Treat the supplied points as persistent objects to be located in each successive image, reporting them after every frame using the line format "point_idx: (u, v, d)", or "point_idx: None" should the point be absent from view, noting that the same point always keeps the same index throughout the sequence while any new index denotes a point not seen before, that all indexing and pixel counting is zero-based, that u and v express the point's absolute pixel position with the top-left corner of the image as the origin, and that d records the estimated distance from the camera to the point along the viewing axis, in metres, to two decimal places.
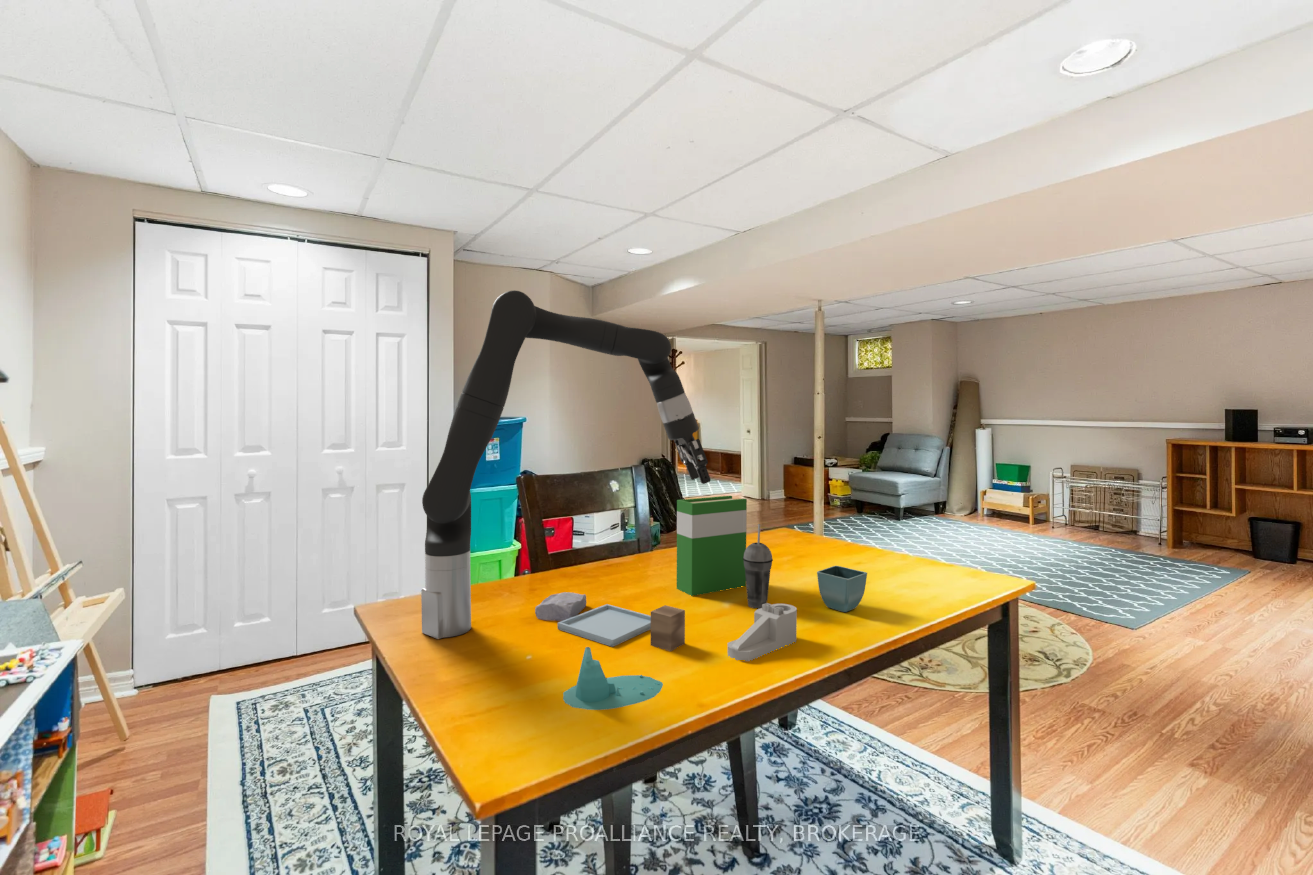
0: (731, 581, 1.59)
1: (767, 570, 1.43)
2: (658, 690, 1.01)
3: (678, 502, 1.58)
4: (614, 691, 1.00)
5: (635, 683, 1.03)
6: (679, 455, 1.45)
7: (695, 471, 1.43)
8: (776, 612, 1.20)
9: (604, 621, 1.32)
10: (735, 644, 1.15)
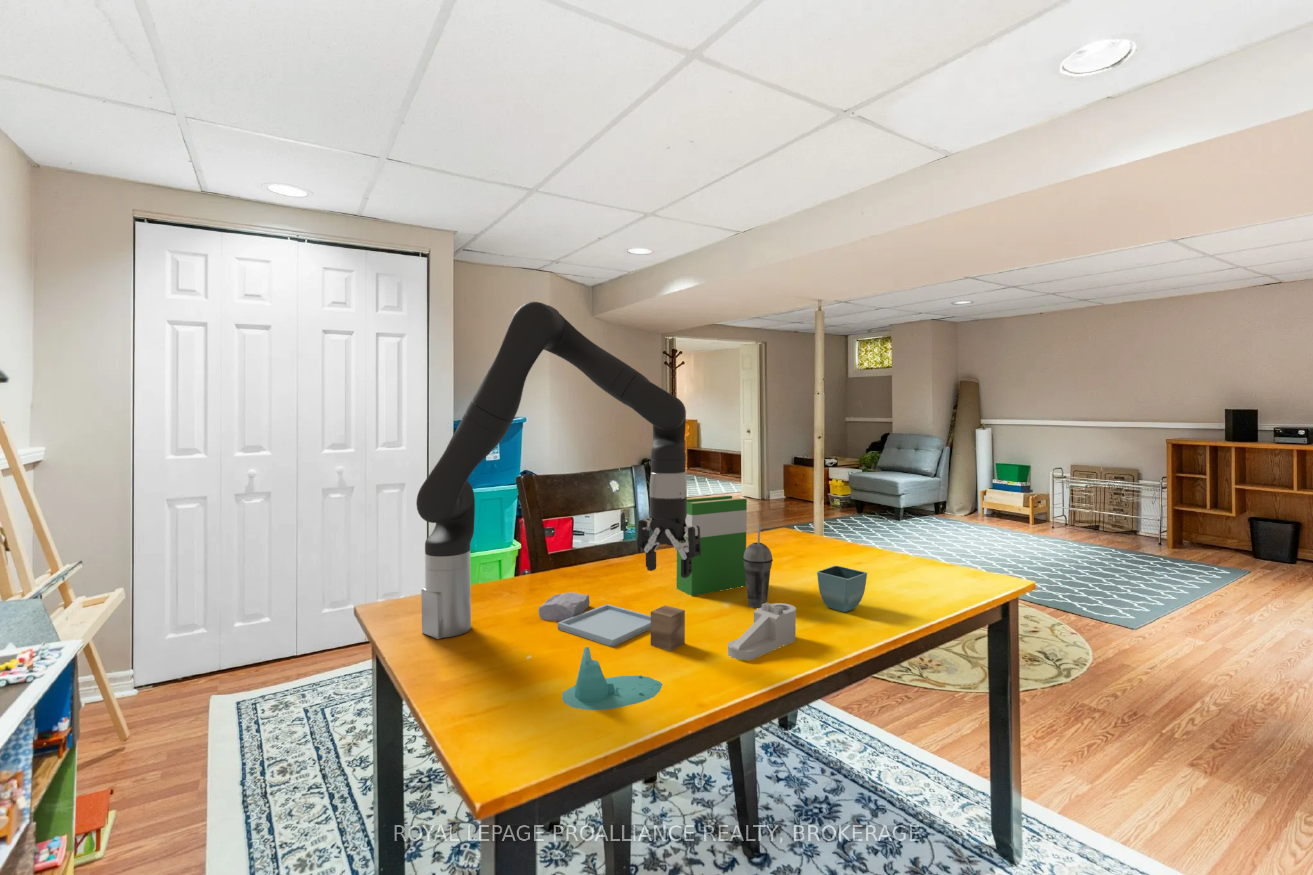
0: (731, 581, 1.59)
1: (767, 570, 1.43)
2: (657, 690, 1.01)
3: None
4: (613, 691, 1.00)
5: (635, 683, 1.03)
6: (638, 539, 1.23)
7: (654, 561, 1.23)
8: (776, 611, 1.20)
9: (604, 621, 1.32)
10: (735, 644, 1.15)
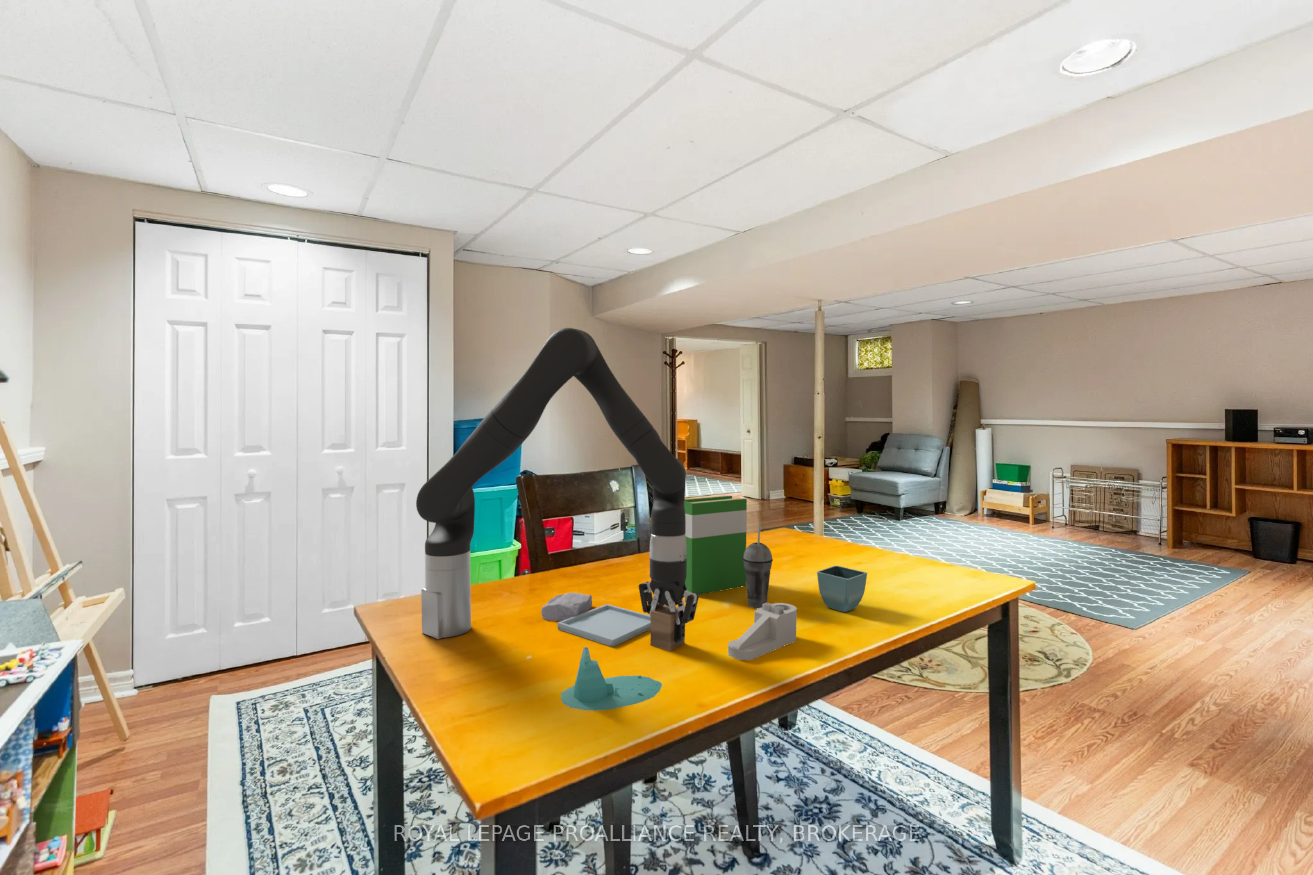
0: (731, 581, 1.59)
1: (767, 570, 1.43)
2: (656, 690, 1.01)
3: None
4: (612, 691, 1.00)
5: (634, 683, 1.03)
6: (642, 604, 1.23)
7: None
8: (777, 611, 1.20)
9: (604, 621, 1.32)
10: (736, 644, 1.15)
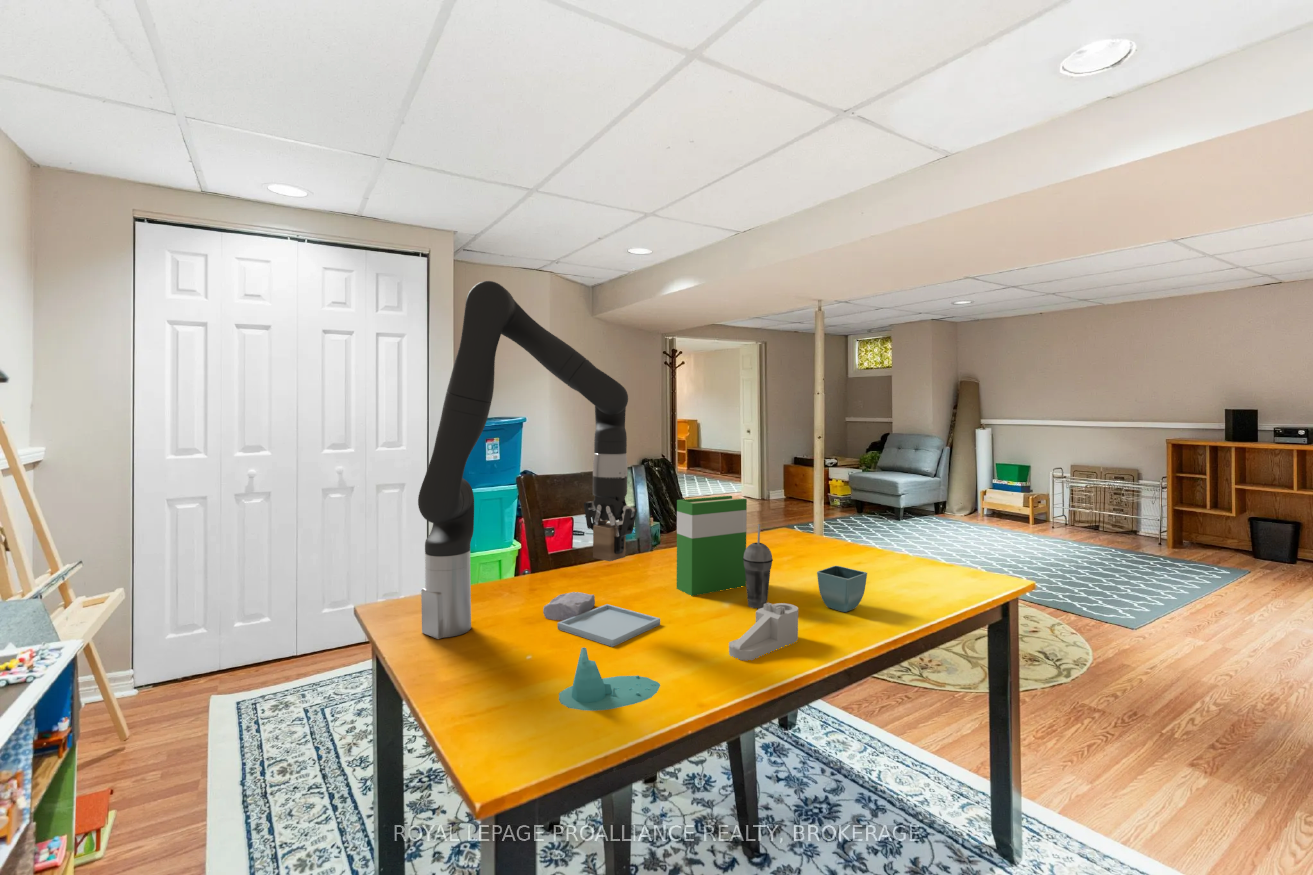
0: (731, 581, 1.59)
1: (767, 570, 1.43)
2: (654, 691, 1.01)
3: (678, 502, 1.58)
4: (610, 692, 0.99)
5: (632, 684, 1.03)
6: (586, 520, 1.32)
7: None
8: (778, 611, 1.20)
9: (604, 621, 1.32)
10: (736, 643, 1.15)
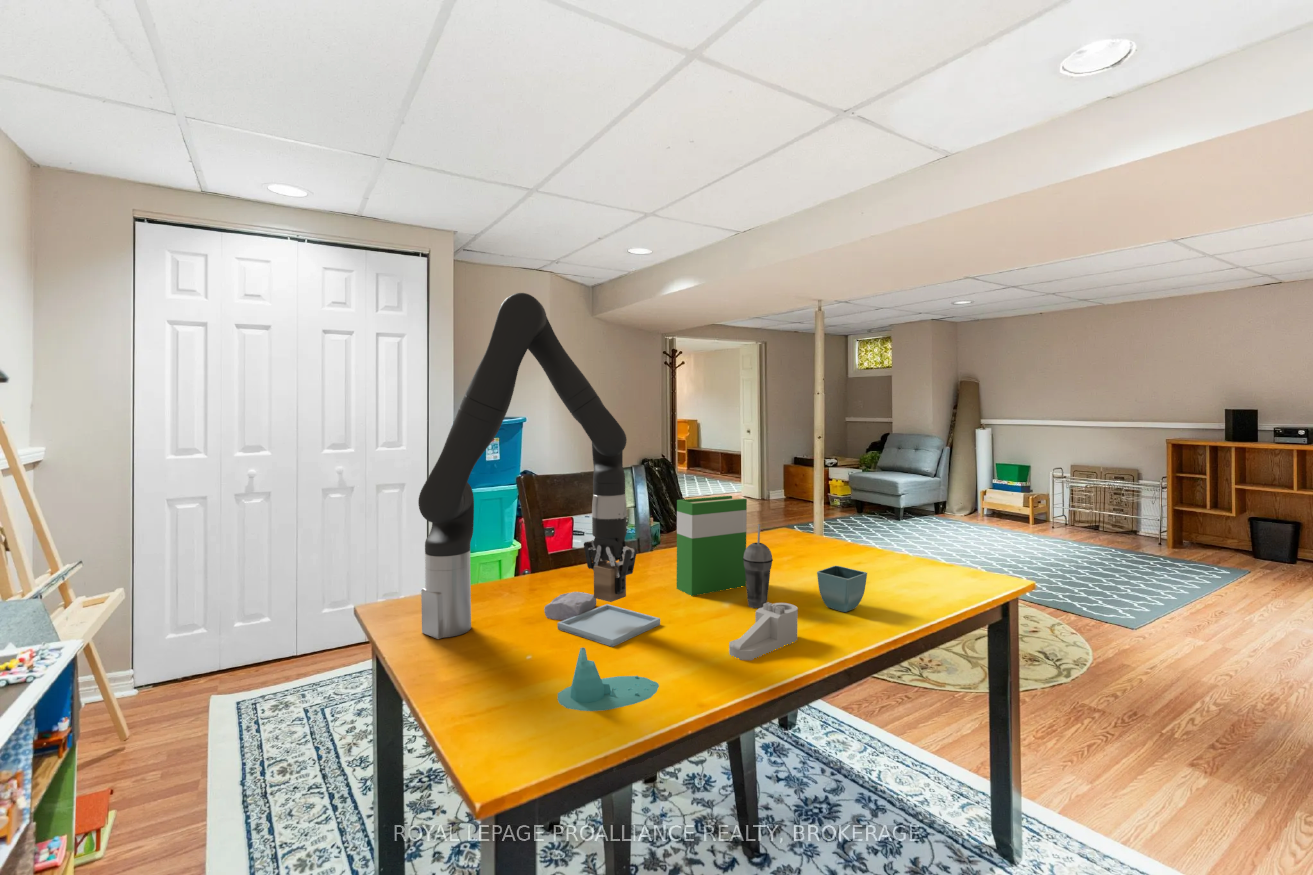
0: (731, 581, 1.59)
1: (767, 570, 1.43)
2: (653, 691, 1.01)
3: (678, 502, 1.58)
4: (609, 692, 0.99)
5: (631, 684, 1.03)
6: (586, 560, 1.33)
7: None
8: (778, 611, 1.20)
9: (604, 621, 1.32)
10: (737, 643, 1.15)
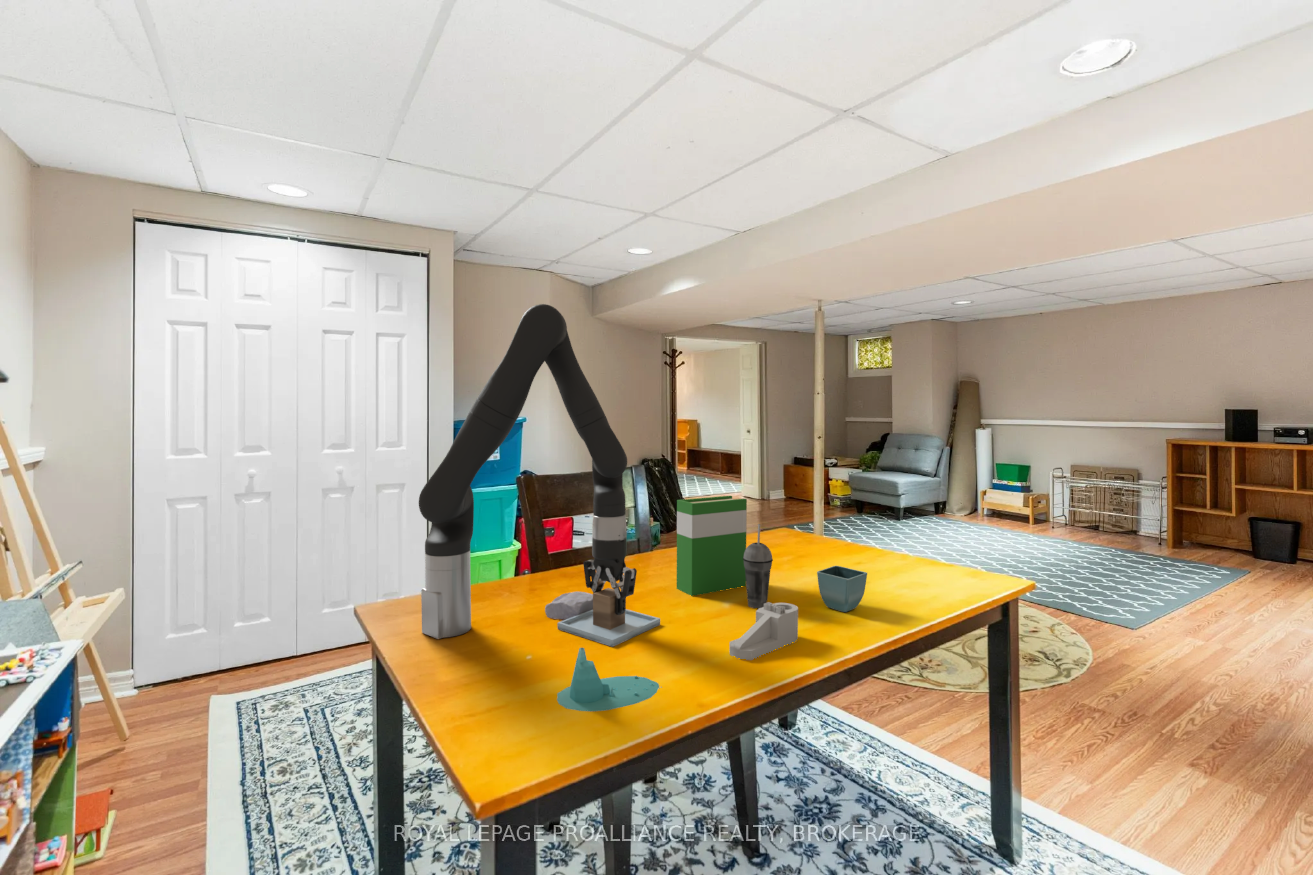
0: (731, 581, 1.59)
1: (767, 570, 1.43)
2: (653, 691, 1.01)
3: (678, 502, 1.58)
4: (608, 692, 0.99)
5: (630, 684, 1.03)
6: (585, 579, 1.33)
7: None
8: (778, 611, 1.20)
9: None
10: (737, 643, 1.15)
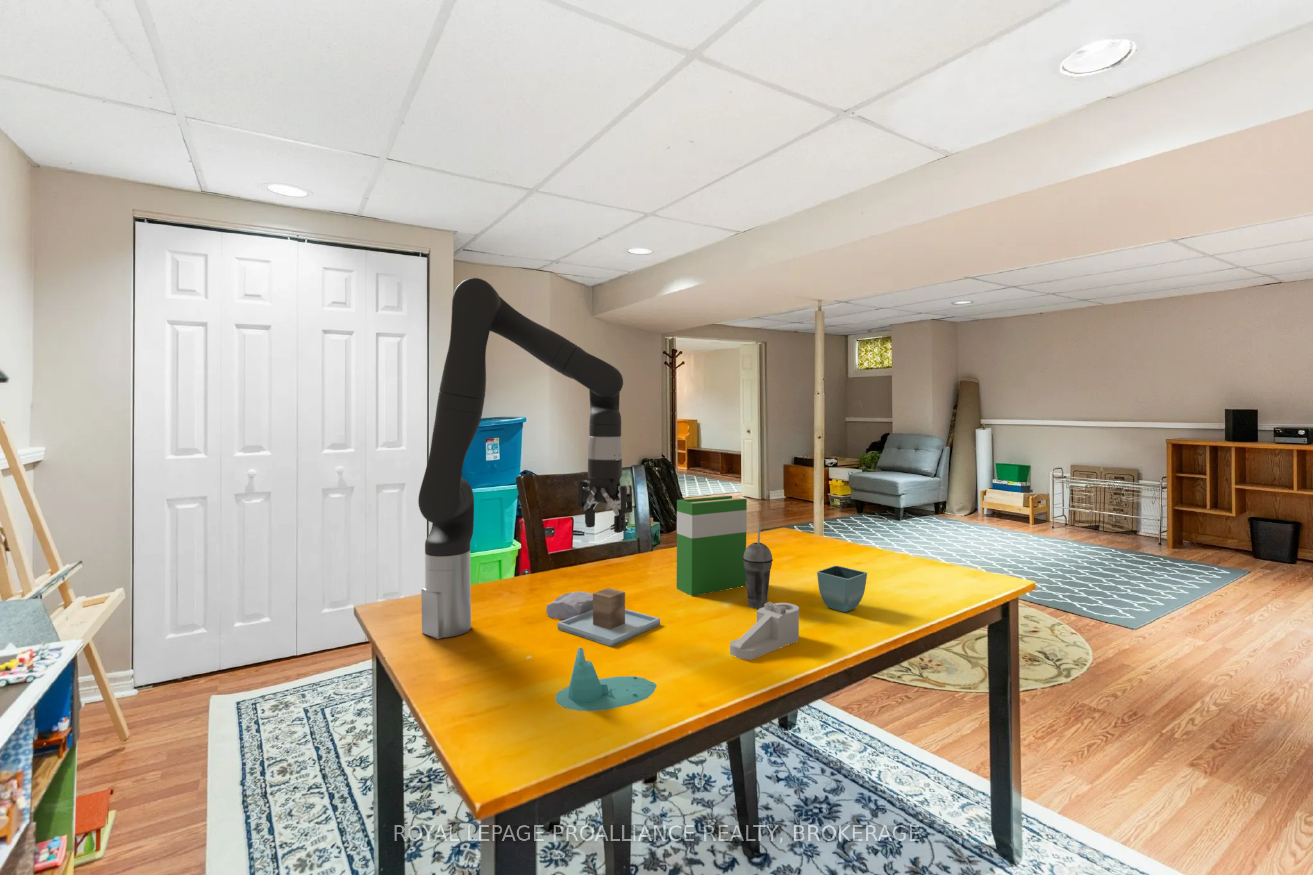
0: (731, 581, 1.59)
1: (767, 570, 1.43)
2: (651, 691, 1.01)
3: (678, 502, 1.58)
4: (607, 692, 0.99)
5: (629, 684, 1.03)
6: (578, 498, 1.35)
7: (593, 519, 1.34)
8: (779, 611, 1.20)
9: None
10: (737, 643, 1.15)
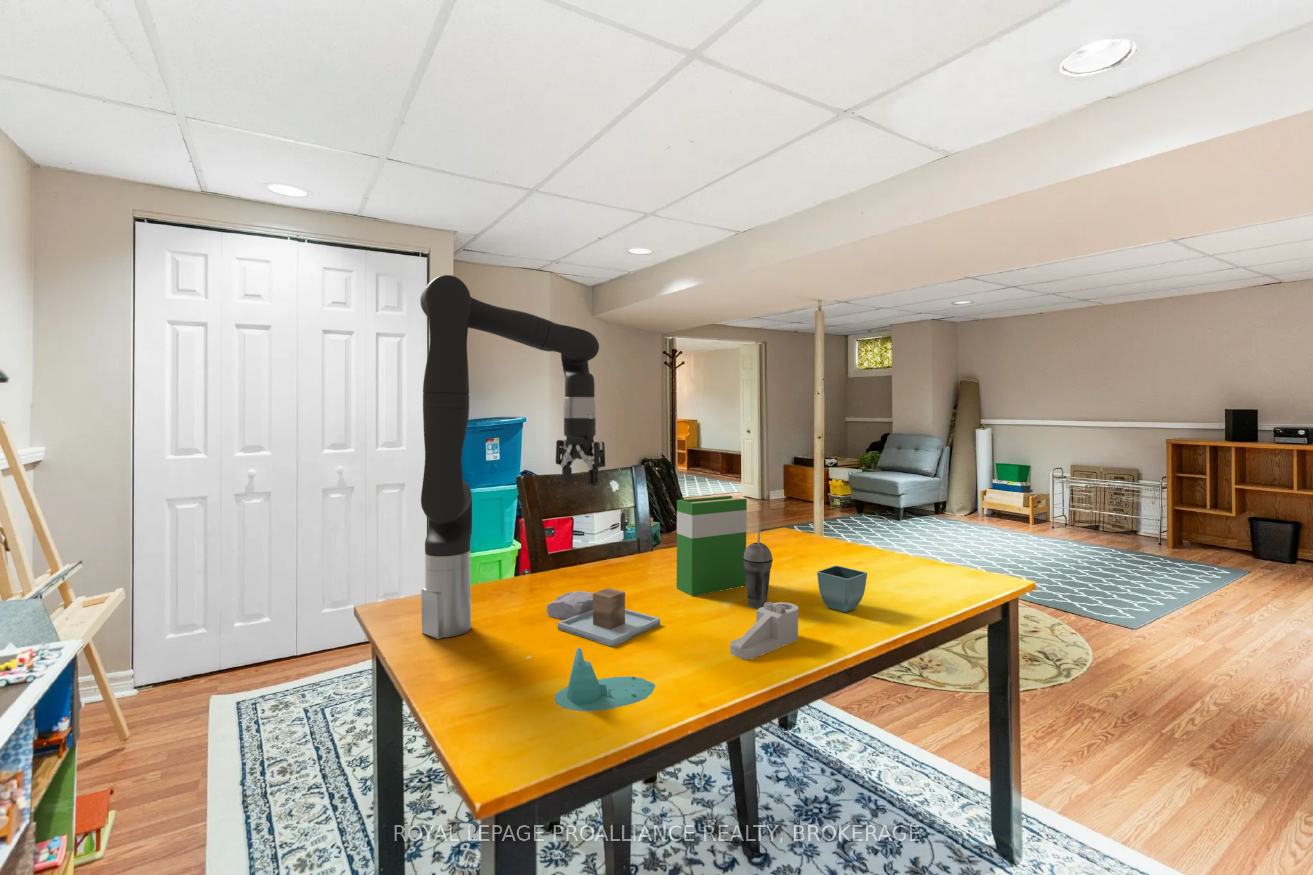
0: (731, 581, 1.59)
1: (767, 570, 1.43)
2: (650, 691, 1.00)
3: (678, 502, 1.58)
4: (606, 692, 0.99)
5: (628, 684, 1.03)
6: (556, 456, 1.45)
7: (569, 475, 1.45)
8: (778, 610, 1.20)
9: None
10: (738, 643, 1.15)
